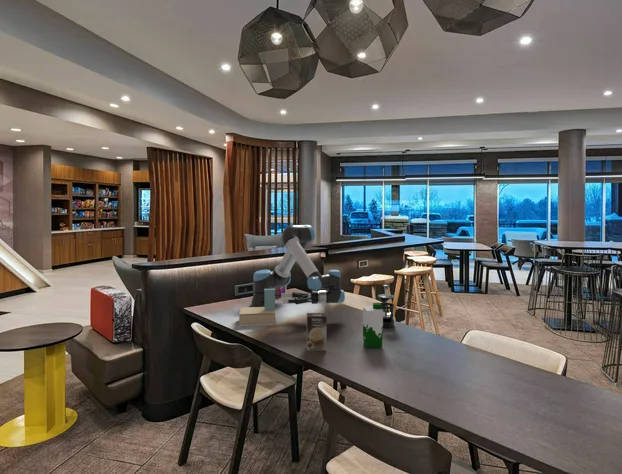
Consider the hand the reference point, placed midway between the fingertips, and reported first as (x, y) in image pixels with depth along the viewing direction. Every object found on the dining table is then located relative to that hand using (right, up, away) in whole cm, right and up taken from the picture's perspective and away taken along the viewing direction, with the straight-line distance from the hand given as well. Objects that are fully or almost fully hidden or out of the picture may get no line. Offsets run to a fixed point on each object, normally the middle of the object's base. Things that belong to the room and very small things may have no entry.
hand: (281, 298), depth 211 cm
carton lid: (-14, -7, -1) cm, 16 cm away
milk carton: (+46, -16, -38) cm, 62 cm away
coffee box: (+19, -16, -42) cm, 49 cm away
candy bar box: (-8, -9, +69) cm, 70 cm away
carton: (-14, -13, 0) cm, 19 cm away
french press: (+58, -14, -8) cm, 61 cm away
